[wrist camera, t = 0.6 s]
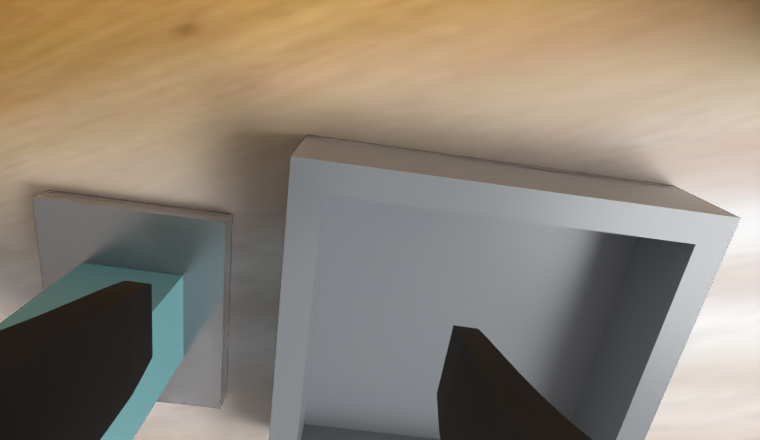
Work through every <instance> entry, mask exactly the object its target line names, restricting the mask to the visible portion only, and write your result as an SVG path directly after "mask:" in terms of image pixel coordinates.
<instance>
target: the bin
mask: <svg viewBox="0 0 760 440" xmlns="http://www.w3.org/2000/svg"><path fill="white" fill-rule="evenodd" d="M739 220H740V217H738V216H735V215H733V214H731V213H729V212H727V211H725V210H723V209H721V208H719V207H717V206H715V205H713V204H711V203H709V202H707V201H705V200H702V199H700V198H698V197H696V196H694V195H692V194H690V193H688V192H686V191H684V190H682V189H680V188H678V187H676V186H670V185H663V184H656V183H649V182H642V181H635V180H627V179H620V178H613V177H606V176H599V175H592V174H585V173H577V172H570V171H563V170H556V169H549V168H542V167H534V166H527V165H520V164H513V163H506V162H499V161H491V160H484V159H477V158H470V157H463V156H456V155H449V154H441V153H434V152H427V151H420V150H413V149H406V148H398V147H391V146H384V145H377V144H370V143H363V142H356V141H348V140H341V139H334V138H327V137H320V136H313V135H307V136H306V137H305V139H304V140H303V141H302V143H301V144H300V145H299V146H298V148H297V149H296V150H295V151H294V153H293V154H292V155H291V158H290V171H289V185H288V198H287V211H286V224H285V237H284V250H283V264H282V277H281V290H280V303H279V316H278V329H277V343H276V356H275V369H274V382H273V395H272V408H271V422H270V435H269V440H441V439H440V434H439V422H438V406H437V390H438V386H439V382H440V378H441V374H442V370H443V366H444V362H445V358H446V354H447V350H448V346H449V341H450V337H451V333H452V329H453V325H455V326H463V327H470V328H477V329H479V330H480V331H481V332H482V333H483V334H484V335H485V336H486V337H487V338H488V339H489V340H490V341H491V342H492V344H493V345H494V346H495V347H496V348H497V349H498V350H499V351H500V352H501V353H502V355H503V356H504V357H505V358H506V359H507V360H508V361H509V362H510V363H511V364H512V365H513V366H514V368H515V369H516V370H517V371H518V372H519V373H520V374H521V375H522V376H523V377H524V378H525V379H526V380H527V381H528V382H529V383H530V384H531V385H532V386H533V387H534V388H535V389H536V390H537V391H538V392H539V393H540V394H541V395H542V396H543V397H544V398H545V399H546V400H547V401H548V402H549V403H550V404H551V405H552V406H554V407H555V408H556V409H557V410H558V411H559V412H560V413H561V414H562V415H563V416H564V417H566V418H567V419H568V420H569V421H570V422H571V423H572V424H574V425H575V426H576V427H577V428H578V429H580V430H581V431H582V432H583V433H585V434H586V435H587V436H588V437H590V438H591V439H592V440H644V439H645V437H646V435H647V432H648V430H649V428H650V425H651V423H652V421H653V419H654V416H655V414H656V412H657V409H658V407H659V405H660V402H661V400H662V398H663V396H664V393H665V391H666V389H667V386H668V384H669V382H670V379H671V377H672V375H673V372H674V370H675V368H676V366H677V363H678V361H679V359H680V356H681V354H682V352H683V349H684V347H685V345H686V343H687V340H688V338H689V336H690V333H691V331H692V329H693V326H694V324H695V322H696V319H697V317H698V315H699V313H700V310H701V308H702V306H703V303H704V301H705V299H706V296H707V294H708V292H709V290H710V287H711V285H712V283H713V280H714V278H715V276H716V273H717V271H718V269H719V267H720V264H721V262H722V260H723V257H724V255H725V253H726V250H727V248H728V246H729V243H730V241H731V239H732V237H733V234H734V232H735V230H736V227H737V225H738V223H739Z"/></svg>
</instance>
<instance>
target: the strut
mask: <svg viewBox="0 0 760 440" xmlns="http://www.w3.org/2000/svg"><path fill="white" fill-rule="evenodd" d="M125 280H126V281H133V282H141V283H148V284H152V345H153V357H152V359H151V361H150V363H149V365H148V367H147V369H146V371H145V373H144V375H143V377H142V378H141V380H140V382H139V384H138V386H137V387H136V389H135V391H134V393H133V395H132V396H131V398H130V399H129V400H128V402H127V403H126V405H125V406H124V408H123V409H122V410H121V412H120V413H119V415H118V416H117V417H116V419H115V420H114V422H113V423H112V424H111V426H110V427H109V429H108V430H107V431H106V433H105V434H104V435H103V437H102V438H101V440H132V439H133V438H134V436H135V435H136V433H137V431H138V430H139V428H140V427H141V425H142V423H143V422H144V420H145V419H146V417H147V415H148V414H149V412H150V411H151V409H152V407H153V406H154V404H155V403H156V401H157V399H158V398H159V396H160V395H161V393H162V391H163V390H164V388H165V387H166V385H167V383H168V382H169V380H170V379H171V377H172V375H173V374H174V372H175V371H176V369H177V367H178V366H179V364H180V363H181V361H182V359H183V276H181V275H173V274H165V273H157V272H149V271H141V270H133V269H125V268H117V267H109V266H101V265H93V264H84V263H81V264H80V265H79V266H77V267H76V268H74V269H73V270H72V271H70V272H69V273H68V274H66V275H65V276H64V277H62V278H61V279H60V280H58V281H57V282H55V283H54V284H53V285H51V286H50V287H49V288H47V289H46V290H45V291H43V292H42V293H41V294H39V295H38V296H36V297H35V298H34V299H32V300H31V301H30V302H28V303H27V304H26V305H24V306H23V307H22V308H20V309H19V310H18V311H16V312H15V313H13V314H12V315H11V316H9V317H8V318H7V319H5V320H4V321H3V322H1V323H0V330H2V329H5V328H7V327H10V326H13V325H15V324H18V323H20V322H23V321H26V320H28V319H31V318H33V317H36V316H38V315H41V314H43V313H46V312H48V311H50V310H53V309H55V308H58V307H60V306H62V305H65V304H67V303H70V302H72V301H74V300H77V299H79V298H81V297H84V296H86V295H88V294H91V293H93V292H96V291H98V290H101V289H103V288H105V287H108V286H111V285H113V284H116V283H119V282H122V281H125Z"/></svg>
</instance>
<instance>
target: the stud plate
mask: <svg viewBox="0 0 760 440" xmlns="http://www.w3.org/2000/svg"><path fill="white" fill-rule="evenodd" d="M32 199H33V208H34V216H35V224H36V232H37V240H38V249H39V257H40V265H41V273H42V281H43V290H44V291H45V290H46V289H47V288H49V287H50V286H51V285H53V284H54V283H55V282H57V281H58V280H60V279H61V278H62V277H64V276H65V275H66V274H68V273H69V272H70V271H72V270H73V269H74V268H76V267H77V266H79V265H80V264H81V263H84V264H93V265H101V266H109V267H117V268H125V269H133V270H141V271H149V272H157V273H165V274H173V275H181V276H183V359H182V361H181V363H180V364H179V366H178V367H177V369H176V371H175V372H174V374H173V375H172V377H171V379H170V380H169V382H168V383H167V385H166V387H165V388H164V390H163V391H162V393H161V395H160V396H159V398H158V399H157V402H166V403H175V404H184V405H193V406H202V407H211V408H221V406H222V403H223V401H224V399H225V397H226V391H227V362H228V332H229V302H230V273H231V243H232V214H225V213H217V212H209V211H202V210H194V209H186V208H179V207H171V206H163V205H156V204H148V203H140V202H133V201H125V200H117V199H110V198H102V197H94V196H87V195H79V194H71V193H64V192H56V191H46V192H43V193H41V194H39V195H37V196H34V197H32Z"/></svg>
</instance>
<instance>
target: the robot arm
mask: <svg viewBox="0 0 760 440" xmlns="http://www.w3.org/2000/svg"><path fill="white" fill-rule="evenodd" d="M152 357H153V345H152V284H148V283H141V282H133V281H126V280H125V281H122V282H119V283H116V284H113V285H111V286H108V287H105V288H103V289H101V290H98V291H96V292H93V293H91V294H88V295H86V296H84V297H81V298H79V299H77V300H74V301H72V302H70V303H67V304H65V305H62V306H60V307H58V308H55V309H53V310H50V311H48V312H46V313H43V314H41V315H38V316H36V317H33V318H31V319H28V320H26V321H23V322H20V323H18V324H15V325H13V326H10V327H7V328H5V329H2V330H0V440H101V438H102V437H103V435H104V434H105V433H106V431H107V430H108V429H109V427H110V426H111V424H112V423H113V422H114V420H115V419H116V417H117V416H118V415H119V413H120V412H121V410H122V409H123V408H124V406H125V405H126V403H127V402H128V400H129V399H130V398H131V396H132V395H133V393H134V391H135V389H136V387H137V386H138V384H139V382H140V380H141V378H142V377H143V375H144V373H145V371H146V369H147V367H148V365H149V363H150V361H151V359H152ZM437 406H438V422H439V434H440V439H441V440H592V439H591V438H590V437H588V436H587V435H586V434H585V433H583V432H582V431H581V430H580V429H578V428H577V427H576V426H575V425H574V424H572V423H571V422H570V421H569V420H568V419H567V418H566V417H564V416H563V415H562V414H561V413H560V412H559V411H558V410H557V409H556V408H555V407H554V406H552V405H551V404H550V403H549V402H548V401H547V400H546V399H545V398H544V397H543V396H542V395H541V394H540V393H539V392H538V391H537V390H536V389H535V388H534V387H533V386H532V385H531V384H530V383H529V382H528V381H527V380H526V379H525V378H524V377H523V376H522V375H521V374H520V373H519V372H518V371H517V370H516V369H515V368H514V366H513V365H512V364H511V363H510V362H509V361H508V360H507V359H506V358H505V357H504V356H503V355H502V353H501V352H500V351H499V350H498V349H497V348H496V347H495V346H494V345H493V344H492V342H491V341H490V340H489V339H488V338H487V337H486V336H485V335H484V334H483V333H482V332H481V331H480V330H479V329H477V328H470V327H463V326H455V325H453V329H452V333H451V337H450V341H449V346H448V350H447V354H446V358H445V362H444V366H443V370H442V374H441V378H440V382H439V386H438V390H437Z"/></svg>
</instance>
